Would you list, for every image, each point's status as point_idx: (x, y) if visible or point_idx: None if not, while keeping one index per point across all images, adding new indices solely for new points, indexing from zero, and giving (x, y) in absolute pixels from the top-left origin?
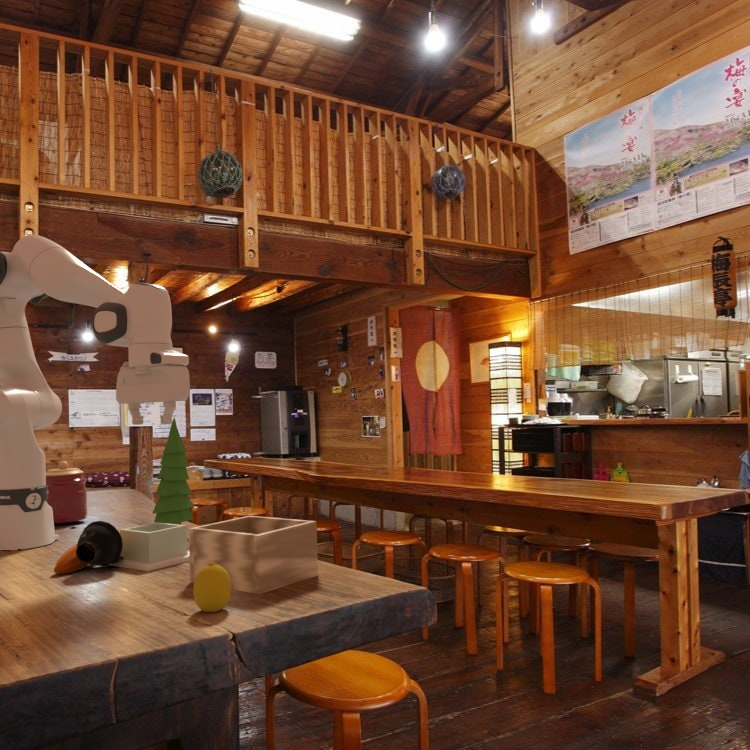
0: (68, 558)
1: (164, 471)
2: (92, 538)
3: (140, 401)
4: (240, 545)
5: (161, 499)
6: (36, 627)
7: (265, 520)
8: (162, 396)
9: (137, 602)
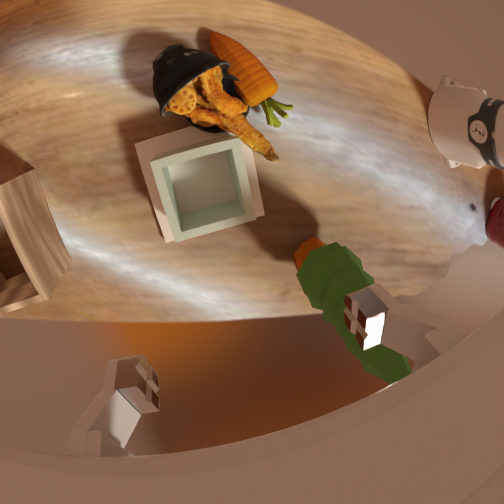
0: (219, 48)
1: None
2: (163, 62)
3: (335, 415)
4: None
5: (344, 270)
6: (23, 10)
7: (20, 299)
8: (59, 479)
9: (16, 99)
